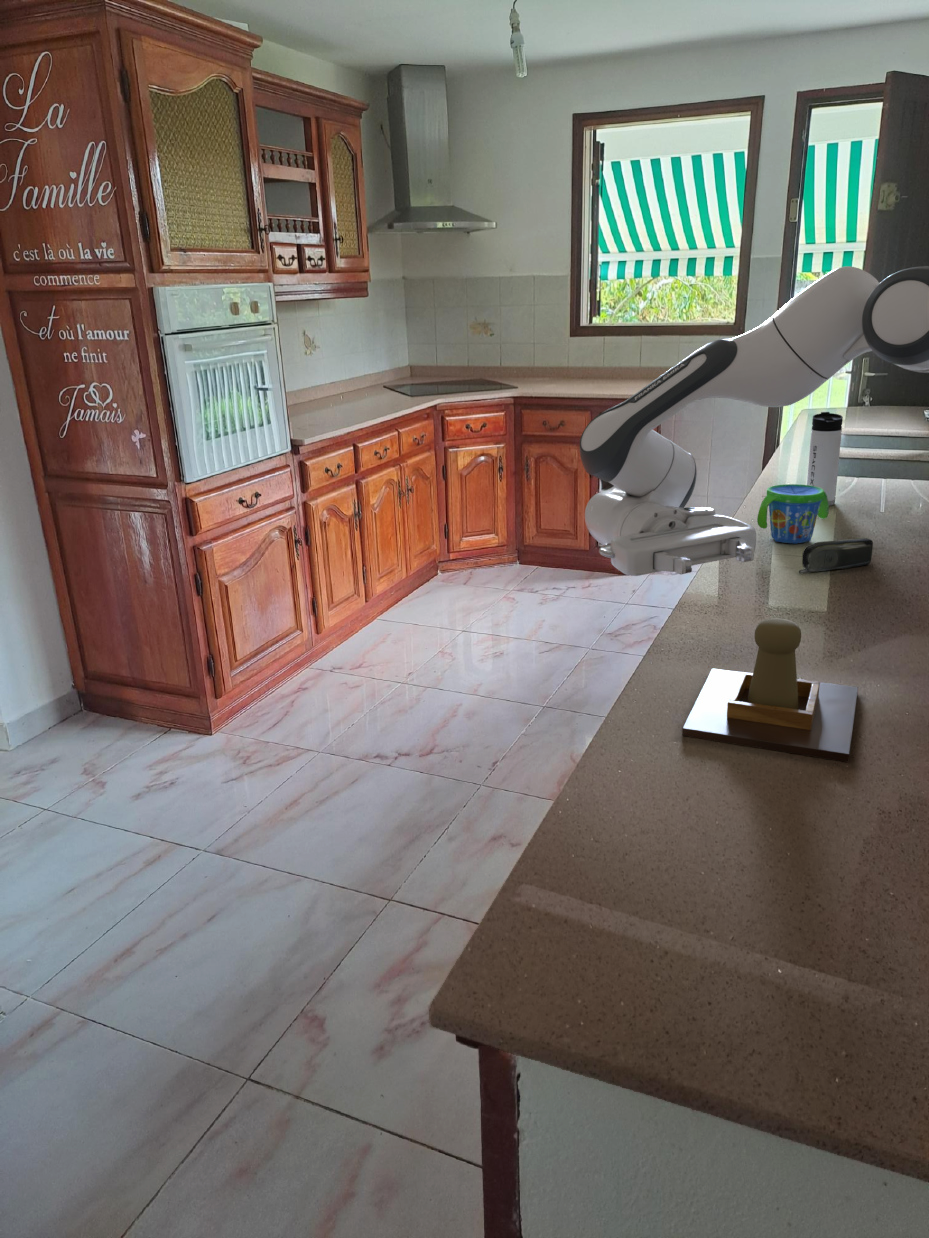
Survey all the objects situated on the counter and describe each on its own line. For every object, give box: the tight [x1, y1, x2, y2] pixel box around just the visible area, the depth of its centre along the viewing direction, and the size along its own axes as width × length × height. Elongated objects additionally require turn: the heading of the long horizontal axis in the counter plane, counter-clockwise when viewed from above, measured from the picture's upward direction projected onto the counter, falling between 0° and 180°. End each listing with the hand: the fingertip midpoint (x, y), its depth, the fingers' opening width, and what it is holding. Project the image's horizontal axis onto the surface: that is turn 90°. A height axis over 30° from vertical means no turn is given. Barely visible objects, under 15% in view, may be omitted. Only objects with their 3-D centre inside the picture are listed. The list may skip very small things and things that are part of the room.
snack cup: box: [756, 483, 830, 545], centre depth 173 cm, size 16×10×10 cm
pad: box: [681, 668, 859, 763], centre depth 106 cm, size 18×18×3 cm
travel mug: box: [806, 411, 844, 507], centre depth 197 cm, size 6×7×20 cm
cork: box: [747, 617, 802, 710], centre depth 105 cm, size 6×6×11 cm
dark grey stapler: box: [798, 537, 874, 575], centre depth 156 cm, size 5×3×15 cm
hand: (718, 561), depth 112 cm, fingers open, 8 cm apart
